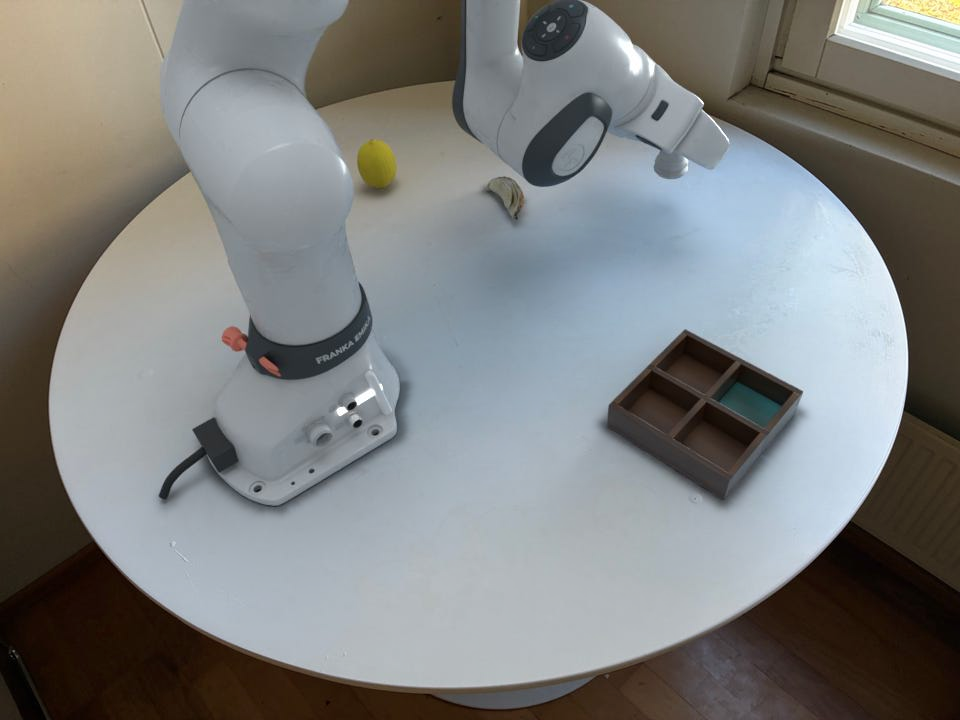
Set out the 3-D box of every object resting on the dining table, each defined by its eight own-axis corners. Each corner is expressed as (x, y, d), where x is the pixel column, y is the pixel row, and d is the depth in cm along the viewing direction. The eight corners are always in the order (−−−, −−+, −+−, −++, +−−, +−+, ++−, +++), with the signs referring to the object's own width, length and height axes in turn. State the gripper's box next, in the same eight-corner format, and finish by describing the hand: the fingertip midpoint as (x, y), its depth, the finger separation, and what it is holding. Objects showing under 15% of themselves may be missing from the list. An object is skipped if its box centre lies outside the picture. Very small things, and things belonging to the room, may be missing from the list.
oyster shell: (499, 223, 113) (532, 222, 104) (477, 216, 111) (509, 214, 102) (509, 183, 113) (544, 179, 104) (487, 175, 111) (520, 170, 102)
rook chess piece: (687, 181, 99) (696, 126, 93) (652, 179, 99) (658, 124, 93) (688, 162, 101) (696, 107, 96) (653, 160, 102) (660, 105, 96)
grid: (723, 500, 75) (729, 480, 72) (606, 426, 82) (608, 405, 79) (795, 412, 81) (803, 391, 78) (681, 350, 88) (685, 328, 85)
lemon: (407, 182, 114) (399, 135, 108) (385, 202, 111) (375, 155, 105) (378, 172, 116) (368, 125, 110) (355, 192, 113) (344, 145, 107)
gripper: (553, 85, 93) (608, 128, 104) (675, 156, 82) (723, 196, 92) (582, 38, 92) (635, 87, 102) (711, 103, 80) (756, 150, 91)
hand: (678, 139), depth 97 cm, fingers closed on rook chess piece, 3 cm apart
